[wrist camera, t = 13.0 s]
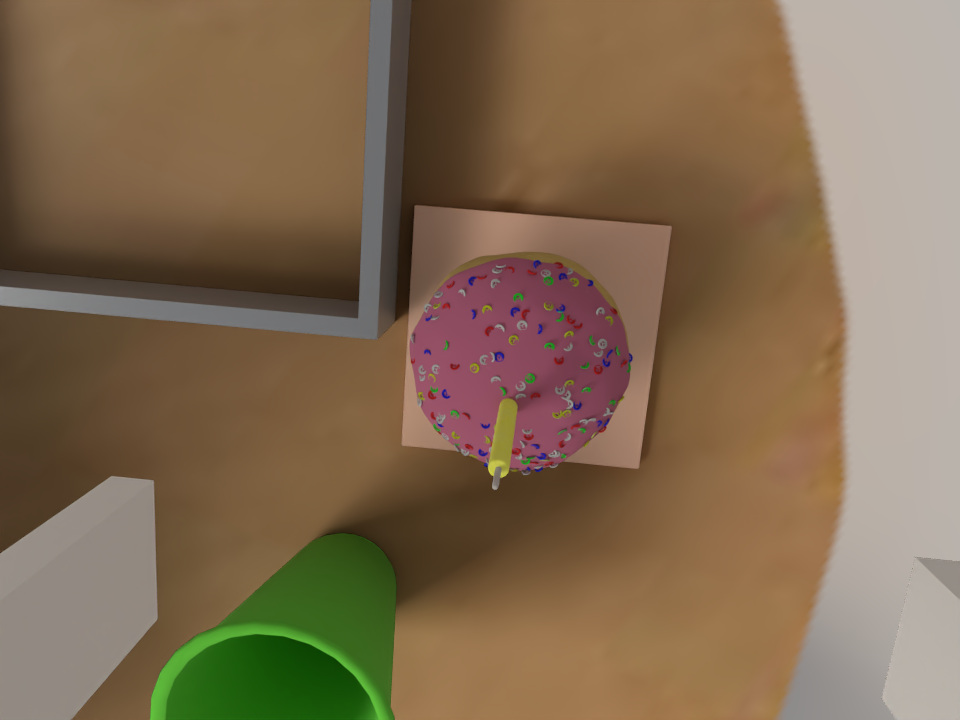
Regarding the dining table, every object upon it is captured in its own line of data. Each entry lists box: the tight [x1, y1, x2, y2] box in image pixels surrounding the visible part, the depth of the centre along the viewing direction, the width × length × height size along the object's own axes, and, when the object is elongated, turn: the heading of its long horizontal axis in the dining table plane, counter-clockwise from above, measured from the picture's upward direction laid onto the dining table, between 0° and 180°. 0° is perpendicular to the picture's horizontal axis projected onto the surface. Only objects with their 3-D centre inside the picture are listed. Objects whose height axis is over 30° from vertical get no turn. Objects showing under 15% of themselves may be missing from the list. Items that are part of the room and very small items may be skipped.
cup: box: [150, 533, 397, 720], centre depth 32 cm, size 9×9×11 cm
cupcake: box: [409, 252, 633, 490], centre depth 27 cm, size 9×8×12 cm
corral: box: [0, 0, 412, 340], centre depth 30 cm, size 22×22×4 cm
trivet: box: [401, 205, 672, 469], centre depth 33 cm, size 11×11×1 cm
